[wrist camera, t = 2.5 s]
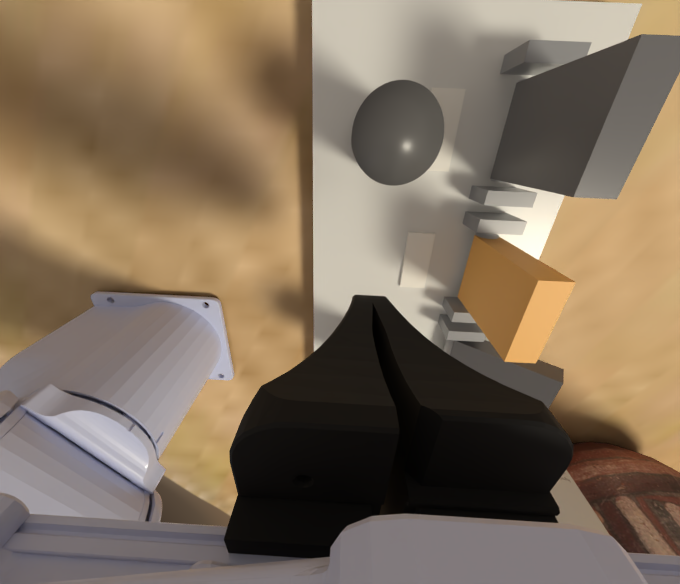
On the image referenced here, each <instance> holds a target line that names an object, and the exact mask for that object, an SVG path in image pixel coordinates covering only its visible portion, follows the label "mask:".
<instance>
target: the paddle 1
mask: <svg viewBox="0 0 680 584" xmlns="http://www.w3.org/2000/svg"><path fill="white" fill-rule="evenodd" d="M443 351H444V352H446V353H447V354H449V355H450V356H452V357H454V358H455V359H457V360H458V361H460V362H462V363H463V364H465V365H467V366H468V367H470V368H472V369H474V370H475V371H477V372H479V373H481V374H483V375H485V376H487V377H489V378H491V379H493V380H495V381H497V382H499V383H501V384H503V385H505V386H507V387H510V388H512V389H514V390H517V391H519V392H521V393H524V394H526V395H528V396H531V397H533V398H535V399H538V400H540V401H542V402H543V403H544V404H545V406H546V407H547V408H548V409H549V407H550V405H551V403H552V402H553V400H554V398H555V397H556V395H557V393H558V391H559V390H560V388H561V386H562V384H563V371H564V369H561V368H559V367H556V366H553V365H551V364H548V363H545V362H542V361H540V360H537V362H536V363H518V362H504V361H503V359H502V358H501V357H500V355H499V354H498V352H497V351H496V350H495V348H494V347H493V345H492V344H491V343H490V342H489V341H486V340H485V341H484V342H474V341H455V340H446V342H445V346H444V349H443Z"/></svg>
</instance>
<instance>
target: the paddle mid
mask: <svg viewBox="0 0 680 584" xmlns="http://www.w3.org/2000/svg"><path fill="white" fill-rule="evenodd" d="M575 283H576V282H574V281H573V280H571V279H569V278H568V277H566V276H564V275H563V274H561V273H559V272H558V271H556V270H554V269H553V268H551V267H549V266H548V265H546V264H544V263H543V262H541V261H539V260H538V259H536V258H534V257H533V256H531V255H529V254H528V253H526V252H524V251H523V250H521V249H519V248H518V247H516V246H514V245H513V244H511V243H509V242H507V241H506V240H504V239H502V238H501V237H499V235H498V234H489V233H476V234H475V235H474V239H473V242H472V246H471V250H470V253H469V257H468V260H467V264H466V268H465V271H464V275H463V279H462V282H461V286H460V289H459V293H458V298H459V300H460V301H461V302H462V304H463V305H464V306H465V308H466V309H467V311H468V312H469V313H470V315H471V316H472V318H473V319H474V320H475V322H476V323H477V325H478V326H479V327H480V329H481V330H482V332H483V333H484V334H485V336H486V337H487V338H488V340H489V341H490V343H491V344H492V345H493V347H494V348H495V350H496V351H497V352H498V354H499V355H500V357H501V358H502V359H503V361H504V362H518V363H536V362H537V360H538V358H539V356H540V354H541V352H542V350H543V348H544V346H545V344H546V342H547V340H548V338H549V336H550V334H551V332H552V330H553V328H554V326H555V324H556V322H557V320H558V318H559V316H560V314H561V312H562V310H563V308H564V306H565V304H566V301H567V299H568V297H569V295H570V293H571V291H572V289H573V287H574V285H575Z"/></svg>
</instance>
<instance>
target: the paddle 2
mask: <svg viewBox="0 0 680 584" xmlns="http://www.w3.org/2000/svg"><path fill="white" fill-rule="evenodd" d="M679 72H680V36H670V35H646V34H641V35H639V36H636V37H634V38H631V39H628V40H626V41H623V42H621V43H618V44H616V45H613V46H610V47H608V48H605V49H603V50H600V51H598V52H595V53H592V54H590V55H587V56H585V57H582V58H579V59H577V60H574V61H572V62H569V63H567V64H564V65H561V66H559V67H556V68H554V69H551V70H548V71H546V72H543V73H541V74H538V75H536V76H533V77H530V78H527V79H522V80H519V81H518V82H517V83H516V86H515V90H514V94H513V97H512V101H511V104H510V108H509V112H508V115H507V119H506V123H505V126H504V130H503V133H502V137H501V141H500V144H499V148H498V152H497V155H496V159H495V162H494V166H493V170H492V173H491V177H490V179H491V181H496V182H507V183H512V184H517V185H521V186H526V187H530V188H535V189H539V190H544V191H548V192H553V193H557V194H562V195H566V196H570V197H581V198H602V199H617V198H618V196H619V194H620V192H621V190H622V188H623V186H624V184H625V182H626V180H627V178H628V176H629V174H630V172H631V170H632V168H633V166H634V163H635V161H636V159H637V157H638V155H639V153H640V151H641V149H642V147H643V145H644V143H645V141H646V139H647V137H648V135H649V133H650V131H651V129H652V127H653V125H654V123H655V121H656V119H657V117H658V115H659V113H660V111H661V109H662V107H663V105H664V103H665V101H666V99H667V97H668V94H669V92H670V90H671V88H672V86H673V84H674V82H675V80H676V78H677V76H678V74H679Z"/></svg>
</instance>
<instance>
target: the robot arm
mask: <svg viewBox="0 0 680 584" xmlns="http://www.w3.org/2000/svg"><path fill="white" fill-rule="evenodd" d="M112 298H113V299H114V300H113V299H112ZM91 300H92V302H93V305H94V306H93V307H92V308H90V309H89V310H87V311H85V312H84V313H82V314H81V315H79V316H77V317H76V318H74V319H72V320H71V321H69V322H68V323H66V324H64V325H63V326H61V327H60V328H58V329H56V330H55V331H53V332H52V333H50V334H48V335H47V336H45V337H43V338H42V339H40V340H39V341H37V342H35V343H34V344H32V345H31V346H29V347H27V348H26V349H24V350H22V351H21V352H19V353H18V354H16V355H15V356H14V357H12V358H11V359H10V360H8V361H7V362H6V363H5V364H4V365H3V366H2V367H1V368H0V584H680V556H674V555H659V554H643V553H628V552H626V550H625V549H624V548H623V547H622V546H621V545H620V544H619V543H618V542H617V541H616V540H615V539H614V538H613V537H612V536H610V535H608V534H606V533H604V532H602V531H600V530H595V529H591V528H586V527H582V526H577V525H572V524H563V523H558V521H557V519H556V517H555V516H558V515H559V514H560V509H559V506H558V505H557V503H556V501H555V499H554V498H553V496H552V494H551V492H550V491H551V490H552V488H553V487H554V486H555V484H556V483H557V482H558V480H559V479H560V478H561V476H562V475H563V473H564V472H565V471H566V469H567V468H568V466H569V464H570V462H571V460H572V457H573V444H572V442H571V440H570V438H569V436H568V435H567V433H566V432H565V431H564V429H563V428H562V427H561V425H560V424H559V423H558V421H557V420H556V419H555V417H554V416H553V415H552V413H551V412H550V411H549V409H548V408H547V407H546V406H545V404H544V403H543V402H542V401H540V400H538V399H535V398H533V397H531V396H528V395H526V394H524V393H521V392H519V391H517V390H514V389H512V388H510V387H507V386H505V385H503V384H501V383H499V382H497V381H495V380H493V379H491V378H489V377H487V376H485V375H483V374H481V373H479V372H477V371H475V370H474V369H472V368H470V367H468V366H467V365H465V364H463V363H462V362H460V361H458V360H457V359H455V358H454V357H452V356H450V355H449V354H447V353H446V352H444V351H443V350H442V349H440V348H439V347H438V346H436V345H435V344H434V343H432V342H431V341H430V340H428V339H427V338H426V337H425V336H423V335H422V334H421V333H420V332H419V331H418V330H417V329H416V328H415V327H413V326H412V325H411V324H410V323H409V322H408V321H407V320H406V319H405V318H404V317H403V316H402V314H401V313H400V312H399V311H398V310H397V309H396V308H395V307H394V306H393V304H392V303H391V302H390V301H389V300H388V299H387V297H386V296H372V295H354V296H353V297H352V301H351V304H350V306H349V308H348V310H347V312H346V314H345V316H344V317H343V319H342V321H341V322H340V323H339V325H338V326H337V328H336V329H335V330H334V332H333V333H332V334H331V335H330V336H329V338H328V339H327V340H326V341H325V342H324V343H323V344H322V345H321V346H320V347H319V348H318V349H317V350H316V351H315V352H313V353H312V354H311V355H310V356H309V357H308V358H306V359H305V360H304V361H302V362H301V363H300V364H298V365H297V366H295V367H294V368H293V369H291V370H290V371H288V372H286V373H285V374H283V375H281V376H279V377H277V378H276V379H274V380H272V381H270V382H268V383H266V384H264V385H262V386H261V387H260V389H259V390H258V392H257V394H256V395H255V397H254V398H253V400H252V402H251V404H250V405H249V407H248V409H247V411H246V412H245V414H244V416H243V418H242V420H241V423H240V425H239V428H238V430H237V433H236V436H235V438H234V441H233V443H232V446H231V449H230V464H231V468H232V472H233V476H234V480H235V484H236V488H237V492H238V496H237V499H236V503H235V506H234V509H233V512H232V515H231V518H230V521H229V524H228V527H226V526H210V525H194V524H180V523H164V522H160V519H161V513H162V500H161V497H160V495H159V494H158V493H157V491H155V488H156V487H157V485H158V483H159V481H160V480H161V478H162V476H163V474H164V473H165V471H166V469H165V468H164V467H163V466H162V465H161V464H160V463H159V462H158V459H159V458H160V456H161V455H162V453H163V451H164V450H165V448H166V446H167V445H168V443H169V442H170V440H171V438H172V437H173V435H174V433H175V432H176V430H177V429H178V427H179V425H180V424H181V422H182V420H183V419H184V417H185V415H186V414H187V412H188V411H189V409H190V407H191V406H192V404H193V402H194V401H195V399H196V398H197V396H198V394H199V393H200V391H201V389H202V388H203V386H204V385H205V383H206V381H207V380H208V379H215V380H231V379H232V378H233V376H234V370H233V364H232V359H231V354H230V348H229V343H228V338H227V332H226V327H225V322H224V316H223V311H222V306H221V302H220V301H219V299H217V298H214V297H198V296H179V295H159V294H140V293H121V292H101V291H97V292H95V293H93V294H92V295H91ZM204 302H207V303H208V304H209V306H208V305H206V304H205V303H204ZM222 374H223V375H222Z"/></svg>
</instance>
